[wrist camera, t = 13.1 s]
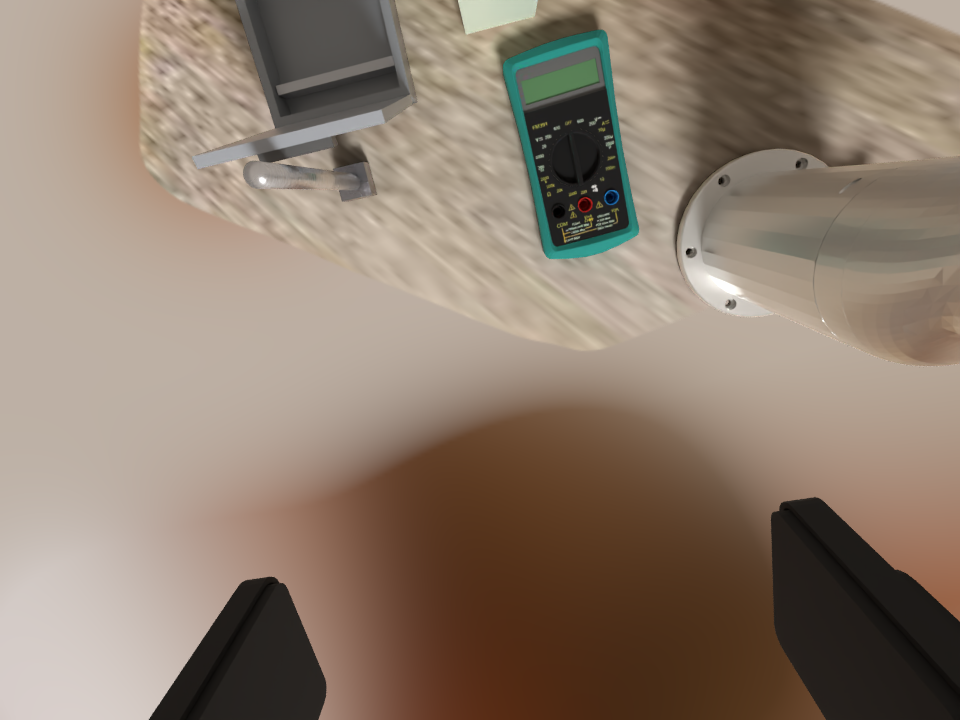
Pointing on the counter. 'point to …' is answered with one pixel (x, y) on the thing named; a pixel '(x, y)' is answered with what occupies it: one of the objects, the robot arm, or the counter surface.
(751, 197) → the robot arm
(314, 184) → the clear capped tube
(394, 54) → the case
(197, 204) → the counter surface
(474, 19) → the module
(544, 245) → the digital multimeter
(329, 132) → the lid
